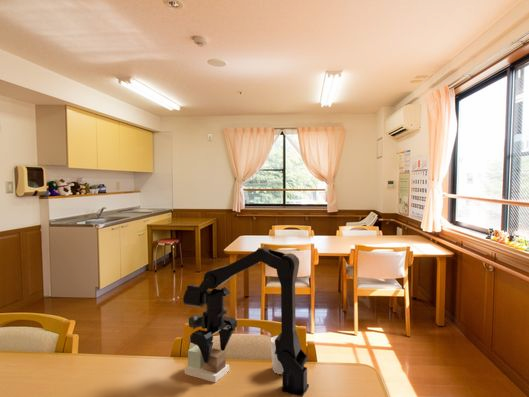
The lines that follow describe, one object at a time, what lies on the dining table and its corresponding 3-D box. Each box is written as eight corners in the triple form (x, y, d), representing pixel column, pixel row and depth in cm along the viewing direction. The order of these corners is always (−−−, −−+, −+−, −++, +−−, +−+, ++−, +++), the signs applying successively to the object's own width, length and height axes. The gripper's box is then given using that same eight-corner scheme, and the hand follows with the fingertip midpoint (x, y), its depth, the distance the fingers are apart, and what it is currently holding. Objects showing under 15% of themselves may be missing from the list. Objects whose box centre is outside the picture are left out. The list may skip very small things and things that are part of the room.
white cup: (294, 365, 113) (294, 335, 113) (294, 376, 105) (294, 345, 105) (271, 364, 113) (271, 334, 114) (269, 375, 106) (269, 344, 106)
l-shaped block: (229, 371, 108) (229, 349, 109) (215, 382, 101) (215, 359, 101) (199, 363, 114) (200, 343, 114) (184, 373, 106) (184, 352, 107)
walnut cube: (225, 366, 107) (225, 351, 107) (216, 373, 103) (216, 357, 103) (212, 363, 109) (213, 348, 110) (203, 369, 105) (203, 354, 105)
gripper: (211, 298, 119) (211, 341, 118) (176, 312, 102) (175, 363, 101) (237, 302, 114) (237, 347, 113) (205, 317, 97) (205, 371, 97)
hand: (214, 356), depth 106 cm, fingers open, 9 cm apart
